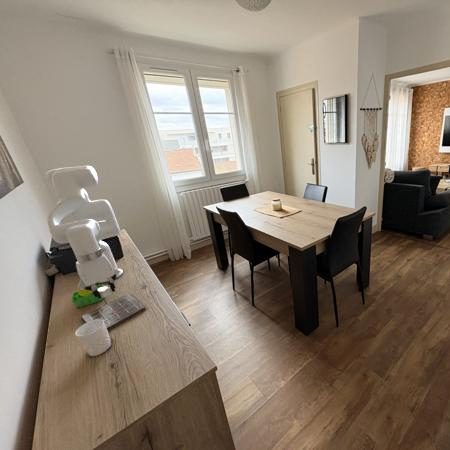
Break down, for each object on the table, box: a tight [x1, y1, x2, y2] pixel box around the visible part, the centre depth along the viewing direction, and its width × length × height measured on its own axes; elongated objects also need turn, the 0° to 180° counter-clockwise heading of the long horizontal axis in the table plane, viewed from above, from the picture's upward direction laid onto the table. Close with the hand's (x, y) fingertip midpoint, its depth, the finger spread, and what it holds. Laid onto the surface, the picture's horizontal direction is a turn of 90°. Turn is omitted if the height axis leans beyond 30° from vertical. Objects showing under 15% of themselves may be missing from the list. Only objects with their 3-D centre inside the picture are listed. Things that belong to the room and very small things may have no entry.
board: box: [81, 293, 146, 332], centre depth 104 cm, size 18×18×1 cm
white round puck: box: [98, 284, 114, 298], centre depth 100 cm, size 4×4×3 cm
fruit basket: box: [70, 284, 104, 308], centre depth 111 cm, size 11×9×11 cm
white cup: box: [74, 319, 112, 357], centre depth 86 cm, size 8×8×10 cm
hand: (105, 293), depth 100 cm, fingers closed on white round puck, 4 cm apart
